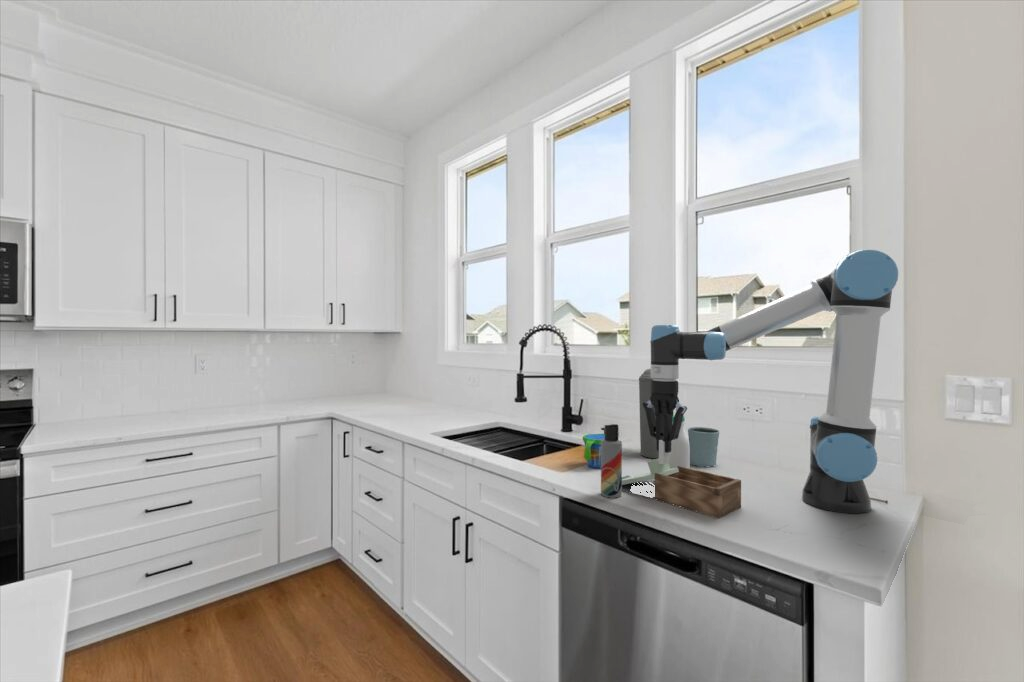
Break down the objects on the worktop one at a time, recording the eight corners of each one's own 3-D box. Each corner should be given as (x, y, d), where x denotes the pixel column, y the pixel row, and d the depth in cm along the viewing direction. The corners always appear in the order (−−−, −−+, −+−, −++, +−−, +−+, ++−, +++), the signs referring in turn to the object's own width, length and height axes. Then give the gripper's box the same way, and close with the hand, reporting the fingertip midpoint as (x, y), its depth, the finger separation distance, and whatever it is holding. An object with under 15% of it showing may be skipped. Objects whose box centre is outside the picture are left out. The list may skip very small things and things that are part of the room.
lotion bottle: (609, 499, 132) (609, 426, 132) (596, 493, 137) (597, 423, 137) (625, 496, 135) (626, 424, 135) (612, 490, 140) (612, 421, 140)
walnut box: (741, 507, 126) (741, 480, 126) (718, 518, 119) (718, 489, 119) (678, 490, 140) (678, 465, 140) (654, 499, 132) (654, 473, 132)
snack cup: (599, 459, 175) (599, 431, 175) (624, 464, 168) (624, 435, 168) (572, 467, 164) (572, 437, 164) (597, 473, 157) (597, 442, 157)
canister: (650, 450, 189) (650, 360, 189) (680, 456, 180) (680, 361, 179) (631, 455, 181) (631, 361, 180) (662, 462, 171) (662, 363, 171)
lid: (679, 471, 138) (673, 454, 140) (659, 478, 132) (654, 460, 133) (634, 479, 150) (630, 464, 151) (615, 486, 143) (610, 469, 145)
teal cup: (682, 460, 174) (683, 427, 173) (709, 459, 175) (709, 426, 175) (696, 468, 164) (696, 432, 163) (725, 467, 165) (725, 432, 165)
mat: (676, 489, 141) (676, 488, 141) (650, 498, 133) (650, 498, 133) (627, 476, 154) (627, 475, 154) (601, 484, 146) (601, 483, 146)
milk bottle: (691, 484, 146) (691, 417, 146) (664, 482, 148) (665, 417, 147) (687, 476, 154) (687, 413, 153) (662, 475, 155) (662, 413, 155)
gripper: (636, 378, 139) (636, 460, 139) (678, 382, 129) (677, 470, 129) (651, 377, 144) (651, 456, 144) (692, 380, 134) (692, 465, 134)
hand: (663, 463), depth 137 cm, fingers closed
